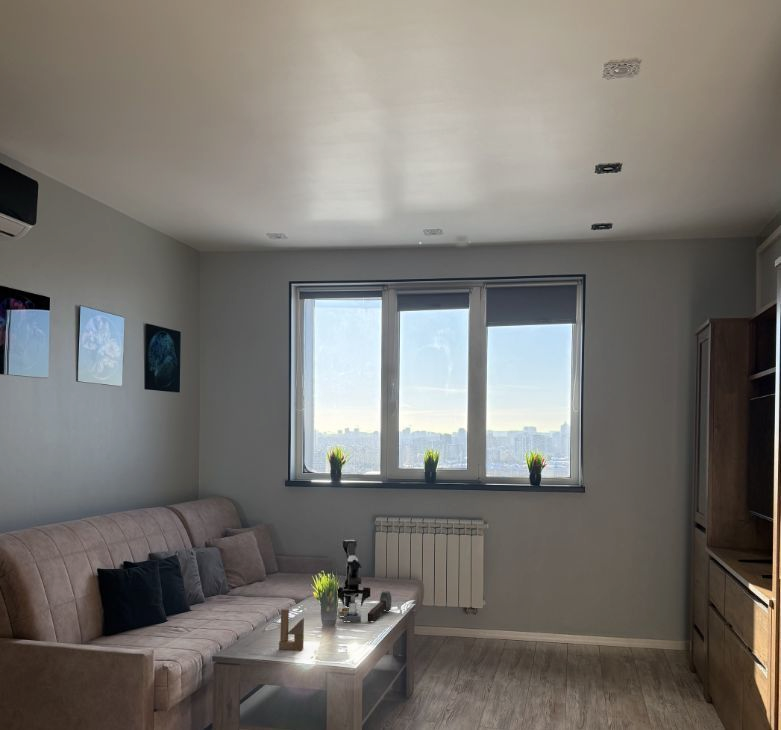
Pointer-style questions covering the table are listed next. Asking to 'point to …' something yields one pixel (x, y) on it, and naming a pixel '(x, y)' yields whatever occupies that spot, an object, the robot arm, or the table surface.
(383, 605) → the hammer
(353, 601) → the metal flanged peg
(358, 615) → the socket
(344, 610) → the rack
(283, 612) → the wooden block
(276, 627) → the table surface
